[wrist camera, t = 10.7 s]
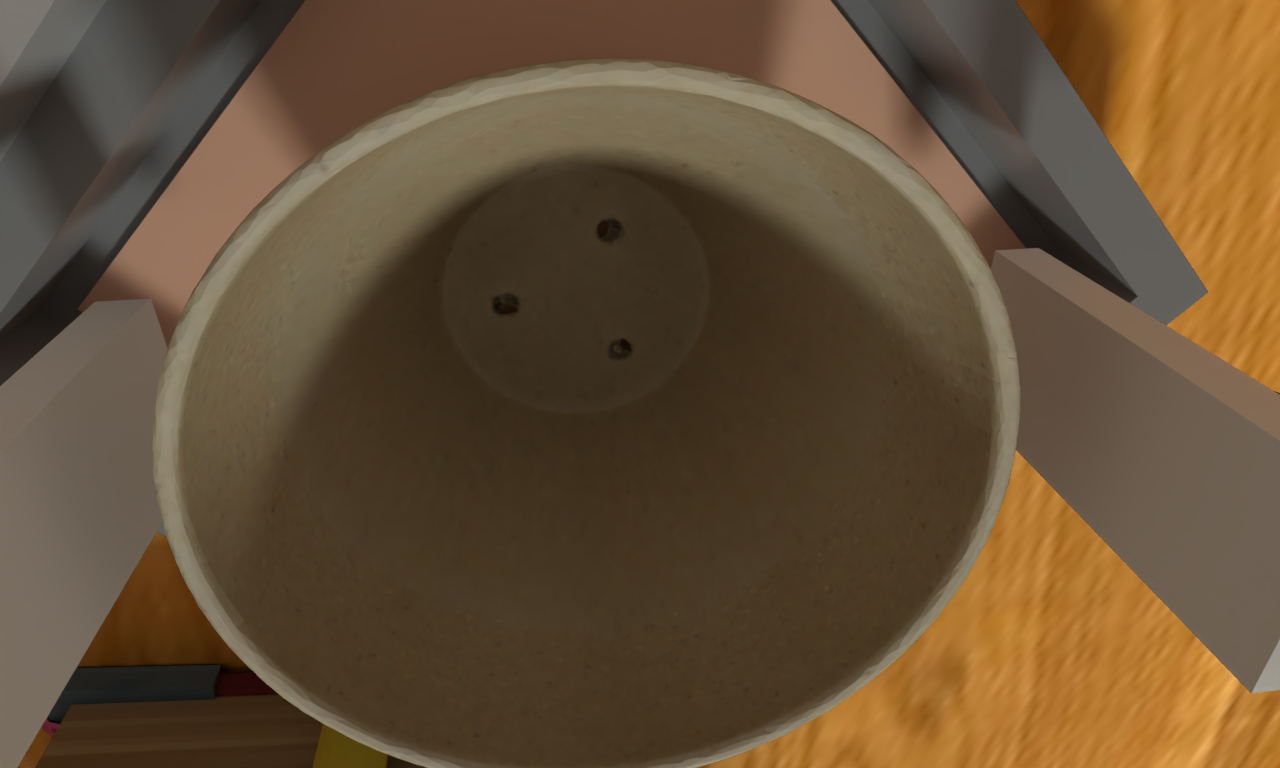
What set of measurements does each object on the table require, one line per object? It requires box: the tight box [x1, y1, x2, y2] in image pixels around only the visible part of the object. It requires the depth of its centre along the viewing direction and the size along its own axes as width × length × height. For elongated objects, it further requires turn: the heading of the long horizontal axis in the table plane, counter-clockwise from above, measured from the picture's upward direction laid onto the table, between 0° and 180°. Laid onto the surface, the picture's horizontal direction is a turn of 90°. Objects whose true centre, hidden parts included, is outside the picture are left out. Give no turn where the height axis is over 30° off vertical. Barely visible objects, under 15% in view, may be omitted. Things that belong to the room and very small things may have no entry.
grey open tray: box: [0, 0, 1208, 537], centre depth 14 cm, size 16×20×5 cm
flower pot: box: [153, 57, 1021, 768], centre depth 13 cm, size 10×10×7 cm
